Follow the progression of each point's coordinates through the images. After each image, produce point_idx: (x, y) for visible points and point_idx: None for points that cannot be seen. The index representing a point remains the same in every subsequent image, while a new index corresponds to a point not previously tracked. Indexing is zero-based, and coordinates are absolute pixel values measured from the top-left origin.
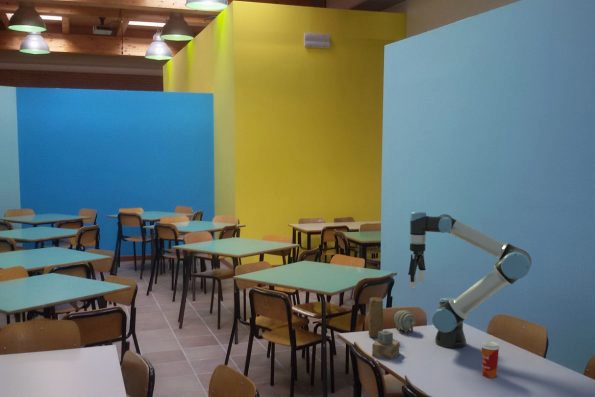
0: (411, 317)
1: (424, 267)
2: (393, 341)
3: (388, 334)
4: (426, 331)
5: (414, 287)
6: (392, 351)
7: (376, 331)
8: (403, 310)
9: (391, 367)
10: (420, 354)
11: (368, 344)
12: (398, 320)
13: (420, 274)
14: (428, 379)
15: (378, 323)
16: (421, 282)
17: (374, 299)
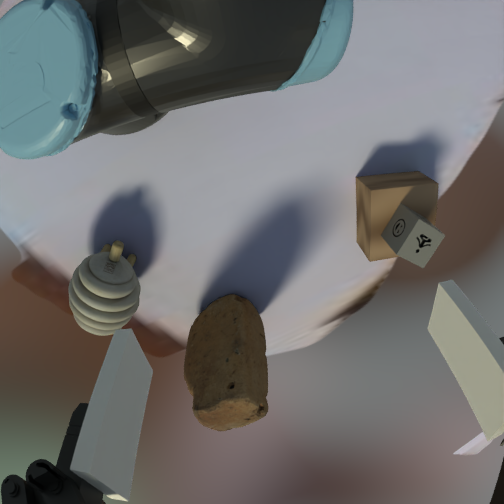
0: (101, 274)
1: (23, 491)
2: (378, 209)
3: (431, 226)
4: (66, 213)
5: (456, 294)
6: (431, 180)
7: (254, 315)
8: (86, 323)
9: (470, 150)
10: (327, 109)
11: (324, 289)
12: (134, 304)
13: (120, 440)
14: (491, 42)
15: (253, 330)
16: (136, 350)
17: (240, 418)
